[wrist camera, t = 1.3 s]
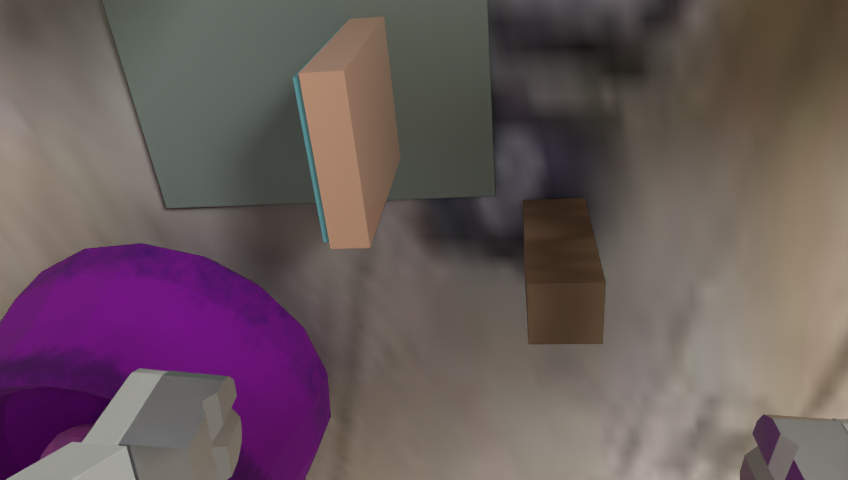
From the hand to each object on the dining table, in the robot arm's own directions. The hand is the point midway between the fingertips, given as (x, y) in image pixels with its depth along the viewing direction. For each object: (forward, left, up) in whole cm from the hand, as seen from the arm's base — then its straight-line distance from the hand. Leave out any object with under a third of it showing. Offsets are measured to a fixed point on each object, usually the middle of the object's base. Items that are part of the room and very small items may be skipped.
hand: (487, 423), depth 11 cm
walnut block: (-3, +10, -24) cm, 26 cm away
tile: (+6, +2, -24) cm, 24 cm away
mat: (+9, +2, -24) cm, 26 cm away
